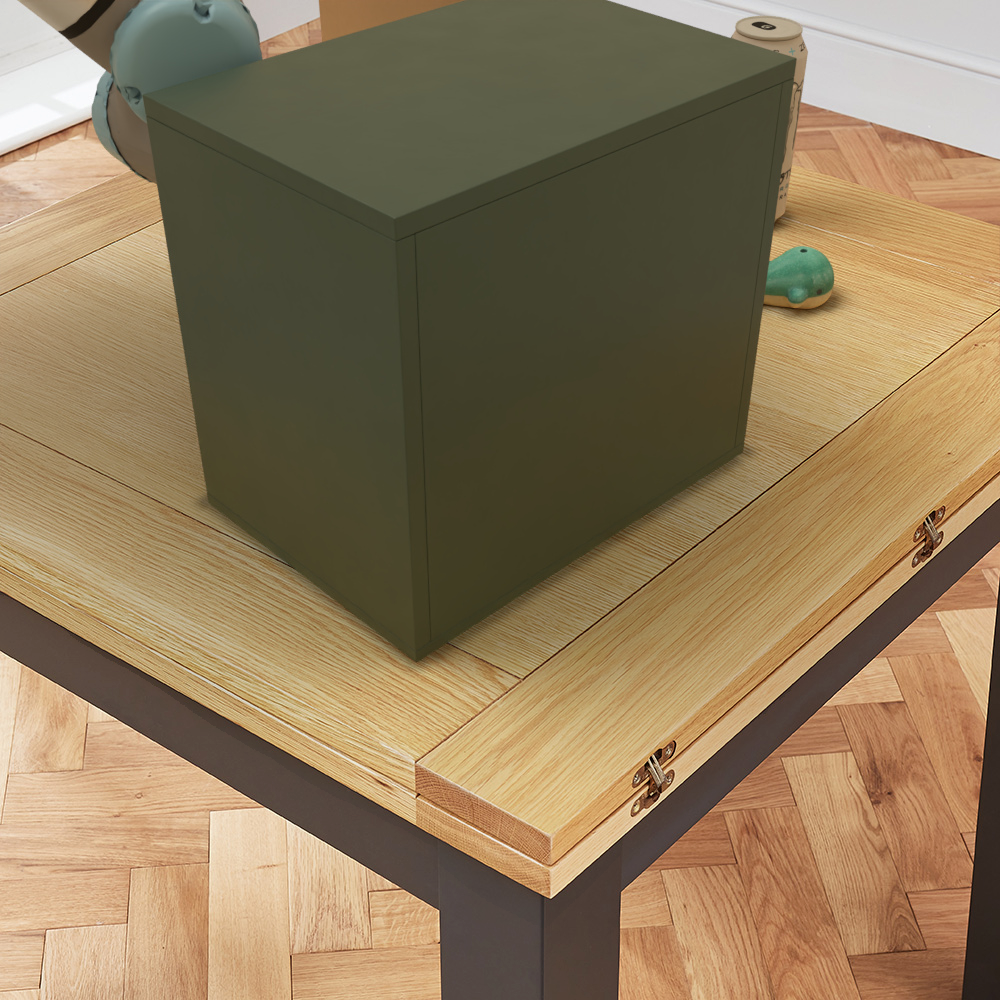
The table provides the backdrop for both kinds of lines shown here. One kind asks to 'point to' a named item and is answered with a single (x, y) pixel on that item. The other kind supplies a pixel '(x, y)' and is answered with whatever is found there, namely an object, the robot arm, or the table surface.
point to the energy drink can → (789, 41)
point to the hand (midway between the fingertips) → (550, 314)
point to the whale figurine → (799, 279)
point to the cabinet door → (368, 14)
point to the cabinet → (469, 290)
